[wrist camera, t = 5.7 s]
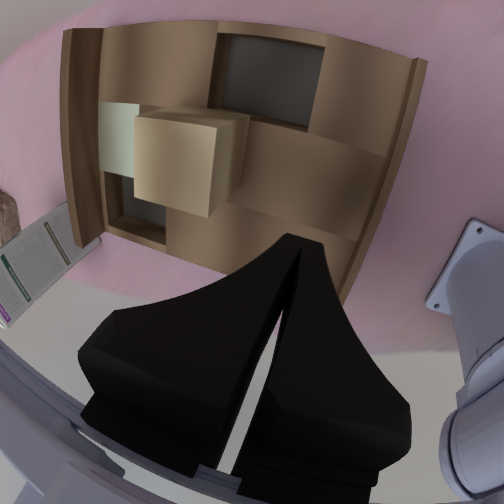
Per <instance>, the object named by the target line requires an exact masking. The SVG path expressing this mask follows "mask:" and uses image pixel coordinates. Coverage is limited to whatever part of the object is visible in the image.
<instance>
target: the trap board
mask: <svg viewBox="0 0 504 504" xmlns="http://www.w3.org/2000/svg"><path fill="white" fill-rule="evenodd" d="M427 63H428V61H426V60H424V59H421V58H419V57H418V58H415V59H413V60H412V59H410V58H407V57H404V56H401V55H399V54H396V53H393V52H390V51H387V50H384V49H381V48H378V47H374V46H371V45H368V44H364V43H361V42H357V41H353V40H349V39H345V38H341V37H337V36H333V35H328V34H324V33H319V32H314V31H309V30H303V29H297V28H291V27H284V26H277V25H269V24H259V23H249V22H234V21H207V20H191V21H164V22H150V23H139V24H130V25H123V26H115V27H109V28H72V29H68V30H64V31H63V40H62V51H61V66H60V134H61V150H62V162H63V172H64V181H65V189H66V196H67V203H68V210H69V216H70V222H71V227H72V233H73V238H74V243H75V245H76V246H78V247H80V248H82V249H83V248H84V247H85V246H87V245H88V244H89V243H91V242H92V241H93V240H94V239H96V238H97V237H98V236H100V235H101V234H102V233H103V232H105V231H106V232H109V233H111V234H114V235H117V236H119V237H122V238H125V239H127V240H130V241H133V242H136V243H138V244H141V245H144V246H147V247H149V248H152V249H155V250H158V251H160V252H163V253H166V254H169V255H172V256H174V257H177V258H180V259H183V260H186V261H189V262H191V263H194V264H197V265H200V266H203V267H206V268H209V269H211V270H214V271H217V272H220V273H223V274H226V275H230V274H231V273H233V272H235V271H237V270H238V269H240V268H241V267H243V266H244V265H246V264H247V263H249V262H251V261H252V260H253V259H255V258H256V257H258V256H259V255H260V254H262V253H263V252H264V251H265V250H267V249H268V248H269V247H270V246H272V245H273V244H274V243H275V242H276V241H277V240H278V239H279V238H280V237H281V236H282V235H283V234H285V233H290V234H294V235H297V236H301V237H304V238H307V239H311V240H314V241H317V242H321V243H322V244H323V245H324V249H325V255H326V260H327V264H328V268H329V271H330V275H331V278H332V281H333V284H334V287H335V290H336V292H337V295H338V297H339V300H340V302H341V305H342V306H343V304H344V302H345V300H346V298H347V296H348V294H349V291H350V289H351V287H352V285H353V283H354V281H355V278H356V276H357V274H358V272H359V269H360V267H361V265H362V263H363V260H364V258H365V256H366V253H367V251H368V248H369V246H370V244H371V241H372V239H373V236H374V234H375V231H376V229H377V226H378V224H379V221H380V219H381V216H382V213H383V211H384V208H385V205H386V203H387V200H388V197H389V195H390V192H391V189H392V186H393V183H394V181H395V178H396V175H397V172H398V169H399V166H400V163H401V160H402V157H403V153H404V150H405V147H406V144H407V141H408V137H409V134H410V130H411V127H412V124H413V120H414V116H415V113H416V109H417V105H418V101H419V98H420V94H421V90H422V85H423V81H424V77H425V73H426V68H427ZM177 105H187V106H195V107H202V108H209V109H216V110H222V111H228V112H234V113H240V114H245V115H250V120H249V126H248V133H247V139H246V146H245V153H244V159H243V166H242V173H241V180H240V187H239V188H238V189H237V190H236V191H235V192H234V193H233V194H232V195H231V196H230V197H229V198H228V199H227V200H226V201H225V202H224V203H222V204H221V205H220V206H219V207H218V208H217V209H216V210H215V211H214V212H213V213H212V214H211V215H210V216H209V217H208V218H205V217H202V216H198V215H195V214H191V213H188V212H184V211H181V210H178V209H174V208H171V207H167V206H164V205H160V204H157V203H153V202H150V201H146V200H142V199H139V198H135V197H134V116H137V115H141V114H145V113H148V112H152V111H156V110H160V109H164V108H168V107H173V106H177Z"/></svg>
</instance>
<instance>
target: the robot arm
mask: <svg viewBox="0 0 504 504" xmlns="http://www.w3.org/2000/svg"><path fill="white" fill-rule="evenodd" d="M479 227H481V230H480V231H477V229H478V228H479ZM437 303H438V305H435V304H437ZM425 304H426V307H427V308H429V309H432V310H435V311H438V312H441V313H444V314H447V315H451V316H452V320H453V324H454V328H455V333H456V337H457V342H458V347H459V352H460V358H461V363H462V369H463V375H464V382H465V385H464V386H463V387H462V388H461V390H459V391H458V392H457V393H456V399H457V410H455V411H453V412H452V413H451V414H450V415H449V416H448V417H447V419H446V420H445V422H444V424H443V427H442V430H441V435H440V442H439V462H440V467H441V471H442V474H443V477H444V479H445V481H446V483H447V484H448V485H449V487H450V489H451V490H452V491H453V492H454V493H455V494H456V495H457V496H458V497H459V499H460V500H461V502H452V503H438V504H504V233H502V232H500V231H498V230H496V229H494V228H492V227H490V226H488V225H486V224H484V223H482V222H480V221H478V220H475V219H473V220H471V221H469V223H468V224H467V226H466V229H465V231H464V233H463V235H462V237H461V239H460V241H459V243H458V245H457V247H456V248H455V250H454V252H453V254H452V256H451V258H450V260H449V262H448V263H447V265H446V267H445V269H444V271H443V272H442V274H441V276H440V278H439V279H438V281H437V283H436V284H435V286H434V288H433V289H432V291H431V293H430V294H429V296H428V298H427V299H426V301H425ZM282 310H283V313H282V318H281V322H280V327H279V331H278V336H277V341H276V345H275V349H274V354H273V358H272V362H271V366H270V369H269V372H268V376H267V378H266V381H265V384H264V387H263V390H262V392H261V395H260V398H259V401H258V404H257V406H256V409H255V412H254V415H253V417H252V420H251V423H250V425H249V428H248V431H247V433H246V436H245V438H244V441H243V444H242V446H241V449H240V451H239V454H238V456H237V459H236V461H235V464H234V467H233V469H232V471H231V474H230V475H229V474H226V473H224V472H221V471H218V470H216V469H217V467H218V464H219V462H220V460H221V457H222V455H223V452H224V450H225V447H226V444H227V442H228V439H229V437H230V434H231V432H232V429H233V427H234V424H235V422H236V419H237V416H238V414H239V411H240V409H241V406H242V403H243V401H244V398H245V395H246V393H247V390H248V387H249V385H250V382H251V379H252V377H253V374H254V371H255V369H256V366H257V364H258V361H259V359H260V357H261V355H262V353H263V351H264V349H265V346H266V344H267V342H268V340H269V338H270V336H271V334H272V332H273V330H274V327H275V325H276V323H277V321H278V319H279V317H280V314H281V312H282ZM78 361H79V364H80V366H81V369H82V371H83V373H84V375H85V376H86V378H87V380H88V382H89V383H90V385H91V387H92V389H93V390H94V392H95V393H94V394H93V396H92V397H91V399H90V400H89V402H88V403H87V405H86V406H85V405H84V404H82V403H81V402H79V401H77V400H76V399H75V398H73V397H72V396H70V395H68V394H67V393H66V392H64V391H63V390H62V389H60V388H59V387H57V386H56V385H55V384H53V383H52V382H51V381H49V380H48V379H47V378H45V377H44V376H43V375H42V374H40V373H39V372H38V371H36V370H35V369H34V368H33V367H31V366H30V365H29V364H28V363H26V362H25V361H24V360H23V359H22V358H21V357H20V356H18V355H17V354H16V353H15V352H14V351H13V350H12V349H10V348H9V347H8V346H7V345H6V344H5V343H4V342H3V341H2V340H1V339H0V451H1V453H2V454H3V455H4V457H5V458H6V459H7V460H8V461H9V462H10V463H11V465H12V466H13V467H14V468H15V469H16V470H17V471H18V472H19V473H20V474H21V475H22V476H23V477H24V478H25V479H26V480H27V483H26V484H25V486H24V487H23V489H22V491H21V493H20V494H19V496H18V498H17V499H16V501H15V502H14V504H176V503H174V502H171V501H169V500H167V499H165V498H162V497H160V496H158V495H156V494H153V493H151V492H149V491H147V490H145V489H143V488H141V487H139V486H137V485H135V484H133V483H131V482H129V481H127V480H125V479H123V476H124V474H125V470H124V469H123V468H122V467H120V466H119V465H117V464H116V463H115V462H113V460H111V459H110V458H109V457H108V456H107V455H106V453H105V451H104V450H102V449H100V448H99V447H98V446H96V445H95V444H93V443H92V442H91V441H89V440H88V439H87V438H85V437H84V436H83V435H81V434H80V433H79V432H78V430H79V431H81V432H82V433H84V434H85V435H87V436H88V437H90V438H91V439H93V440H94V441H96V442H98V443H99V444H101V445H102V446H104V447H106V448H107V449H109V450H111V451H113V452H114V453H116V454H118V455H120V456H121V457H123V458H125V459H127V460H129V461H130V462H132V463H134V464H136V465H138V466H140V467H142V468H144V469H146V470H148V471H150V472H152V473H154V474H156V475H159V476H161V477H163V478H165V479H167V480H169V481H172V482H174V483H177V484H179V485H181V486H184V487H186V488H189V489H191V490H194V491H196V492H199V493H202V494H204V495H207V496H210V497H213V498H216V499H219V500H221V501H225V502H228V503H231V504H377V503H369V498H370V492H371V487H374V486H376V484H377V482H378V475H379V471H381V470H383V469H384V468H386V467H388V466H390V465H392V464H394V463H395V462H397V461H399V460H400V459H401V458H402V457H404V456H405V455H406V454H407V453H408V452H409V450H410V448H411V435H412V434H411V433H412V422H411V413H410V405H409V403H408V402H407V401H406V400H405V399H404V398H403V397H402V396H401V394H400V393H399V392H398V391H397V390H396V389H395V388H394V386H393V385H392V384H391V383H390V382H389V381H388V380H387V378H386V377H385V376H384V374H383V373H382V372H381V371H380V369H379V368H378V367H377V366H376V364H375V363H374V361H373V360H372V358H371V357H370V355H369V354H368V352H367V351H366V349H365V348H364V346H363V345H362V343H361V341H360V340H359V338H358V337H357V335H356V333H355V331H354V330H353V328H352V326H351V324H350V322H349V320H348V318H347V316H346V314H345V312H344V309H343V307H342V305H341V302H340V300H339V297H338V295H337V292H336V290H335V287H334V284H333V281H332V278H331V275H330V271H329V268H328V264H327V260H326V255H325V249H324V245H323V244H322V243H321V242H317V241H314V240H311V239H307V238H304V237H301V236H297V235H294V234H290V233H285V234H283V235H282V236H281V237H280V238H279V239H278V240H277V241H276V242H275V243H274V244H273V245H272V246H270V247H269V248H268V249H267V250H265V251H264V252H263V253H262V254H260V255H259V256H258V257H256V258H255V259H253V260H252V261H251V262H249V263H247V264H246V265H244V266H243V267H241V268H240V269H238V270H237V271H235V272H233V273H231V274H230V275H228V276H226V277H224V278H222V279H220V280H218V281H216V282H214V283H212V284H210V285H207V286H205V287H203V288H200V289H198V290H195V291H193V292H190V293H187V294H184V295H181V296H178V297H175V298H171V299H168V300H164V301H160V302H156V303H152V304H148V305H142V306H137V307H132V308H126V309H120V310H114V311H113V312H112V313H111V314H110V315H109V316H108V317H107V318H106V319H105V320H104V321H103V322H102V323H101V324H100V325H99V326H98V328H97V329H96V330H95V331H94V332H93V333H92V335H91V336H90V337H89V338H88V340H87V341H86V342H85V343H84V344H83V346H82V347H81V348H80V349H79V351H78ZM77 429H78V430H77ZM378 504H379V503H378Z"/></svg>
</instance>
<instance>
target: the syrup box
mask: <svg viewBox="0 0 504 504" xmlns="http://www.w3.org/2000/svg"><path fill="white" fill-rule="evenodd" d="M99 243H100V239H99V237H97V238H96V239H94V240H93V241H92V242H91V243H89V244H88V245H87V246H85V247H84V248H83V249H82V248H80V247H78V246H76V245H75V243H74V238H73V233H72V227H71V222H70V216H69V210H68V203H67V202H65V203H63V204H61V205H60V206H58V207H56V208H55V209H53V210H52V211H50V212H49V213H47V214H46V215H44V216H43V217H41V218H40V219H38V220H37V221H35V222H34V223H32V224H31V225H29V226H28V227H27V228H25V229H24V230H22V231H21V232H19V233H18V234H17V235H15V236H14V237H13V238H11V239H10V240H9V241H7V242H6V243H5V244H4V245H3V246H1V247H0V328H3V329H7V330H8V329H9V328H10V326H11V325H12V324H13V323H14V322H15V321H16V320H17V319H18V318H19V317H20V316H21V315H22V314H23V313H24V312H25V311H26V310H27V309H28V308H29V307H30V306H31V305H32V304H33V303H34V302H35V301H36V300H37V299H38V298H39V297H41V295H43V294H44V293H45V292H46V291H47V290H48V289H49V288H50V287H51V286H52V285H53V284H54V283H55V282H57V281H58V280H59V279H60V278H61V277H62V276H63V275H64V274H65V273H66V272H67V271H68V270H70V269H71V268H72V267H73V266H74V265H75V264H76V263H77V262H79V261H80V260H81V259H82V258H83V257H84V256H86V255H87V254H88V253H89V252H90V251H91V250H93V249H94V248H95V247H96V246H97V245H98V244H99Z"/></svg>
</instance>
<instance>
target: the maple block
mask: <svg viewBox="0 0 504 504" xmlns="http://www.w3.org/2000/svg"><path fill="white" fill-rule="evenodd" d="M249 120H250V115H245V114H240V113H234V112H228V111H222V110H216V109H209V108H202V107H195V106H187V105H177V106H173V107H168V108H164V109H160V110H156V111H152V112H148V113H145V114H141V115H137V116H134V197H135V198H139V199H142V200H146V201H150V202H153V203H157V204H160V205H164V206H167V207H171V208H174V209H178V210H181V211H184V212H188V213H191V214H195V215H198V216H202V217H205V218H208V217H209V216H210V215H211V214H212V213H213V212H214V211H215V210H216V209H217V208H218V207H219V206H220V205H221V204H222V203H224V202H225V201H226V200H227V199H228V198H229V197H230V196H231V195H232V194H233V193H234V192H235V191H236V190H237V189H238V188H239V187H240V180H241V173H242V166H243V159H244V153H245V146H246V139H247V133H248V126H249Z"/></svg>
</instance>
